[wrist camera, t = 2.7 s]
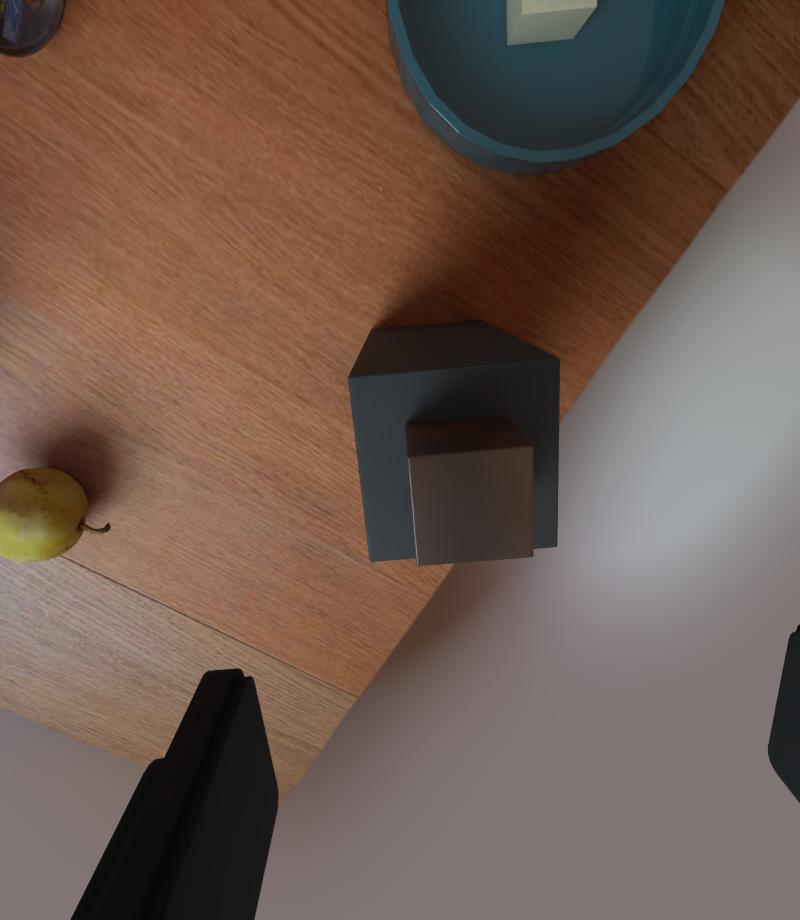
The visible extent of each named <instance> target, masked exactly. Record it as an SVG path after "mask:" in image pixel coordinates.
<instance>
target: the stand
mask: <svg viewBox="0 0 800 920" xmlns="http://www.w3.org/2000/svg"><path fill="white" fill-rule="evenodd" d="M348 382H349V391H350V399H351V408H352V416H353V424H354V433H355V441H356V449H357V458H358V466H359V475H360V483H361V491H362V500H363V508H364V516H365V525H366V533H367V542H368V550H369V558H370V561H371V562H374V561H386V560H399V559H411V558H416V556H415V544H414V533H413V521H412V509H411V498H410V486H409V475H408V463H407V449H406V432H405V424H407V423H419V422H430V421H442V420H454V419H466V418H477V417H489V416H501V415H508V416H509V417H510V419H511V420H512V421H513V422H514V424H515V425H516V426H517V427H518V428H519V430H520V431H521V432H522V433H523V435H524V436H525V437H526V438H527V440H528V441H529V442H530V443H531V444H532V446H533V549H536V548H549V547H557V526H558V525H557V523H558V461H559V395H560V358H558V357H556V356H554V355H552V354H550V353H548V352H546V351H544V350H542V349H539V348H537V347H535V346H533V345H531V344H529V343H527V342H525V341H523V340H521V339H519V338H517V337H515V336H513V335H511V334H509V333H507V332H505V331H503V330H501V329H499V328H497V327H495V326H492V325H490V324H488V323H486V322H484V321H482V320H473V321H462V322H451V323H440V324H428V325H417V326H406V327H395V328H383V329H372V330H371V331H370V333H369V335H368V337H367V339H366V341H365V343H364V346H363V348H362V350H361V352H360V354H359V356H358V358H357V360H356V362H355V364H354V366H353V368H352V370H351V372H350V375H349V377H348Z"/></svg>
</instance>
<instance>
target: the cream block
mask: <svg viewBox="0 0 800 920" xmlns="http://www.w3.org/2000/svg"><path fill="white" fill-rule="evenodd" d="M506 5H507V45H517V44H527V43H537V42H547V41H557V40H567V39H573V38H574V37H575V35H576V34H577V33H578V31H579V30H580V29H581V27H582V26H583V25H584V23H585V22H586V20H587V19H588V18H589V16H590V15H591V14H592V12H593V11H594V10H595V8H596V7H597V0H506Z"/></svg>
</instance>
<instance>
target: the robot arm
mask: <svg viewBox="0 0 800 920" xmlns="http://www.w3.org/2000/svg"><path fill="white" fill-rule="evenodd" d="M768 755H769V759H770V762H771V764H772V766H773V768H774V770H775V772H776V773H777V775H778V776H779V777H780V778H781V780H782V781H783V782H784V783H785V785H786V786H787V787H788V789H789V790H790V791H791V792H792V794H793V795H794V796H795V798H796V799H797V800H798V801H799V803H800V625H799V626H798V627H797V630H796V632H793V633H792V634H791V635H790V637H789V641H788V646H787V652H786V656H785V662H784V666H783V672H782V677H781V682H780V688H779V693H778V698H777V703H776V708H775V713H774V718H773V724H772V729H771V734H770V740H769V744H768ZM277 810H278V786H277V781H276V777H275V772H274V768H273V763H272V759H271V754H270V750H269V745H268V741H267V736H266V732H265V727H264V723H263V718H262V714H261V709H260V705H259V700H258V696H257V691H256V687H255V682H254V679H253V678H252V677H251V676H248V677H244V674H243V672H242V670H241V669H225V670H213V671H207V672H206V673H205V674H204V675H203V677H202V679H201V681H200V683H199V685H198V687H197V690H196V692H195V694H194V696H193V698H192V700H191V702H190V704H189V706H188V709H187V711H186V713H185V715H184V717H183V719H182V721H181V723H180V726H179V728H178V730H177V732H176V734H175V736H174V738H173V740H172V742H171V745H170V747H169V749H168V751H167V753H166V755H165V757H164V758H160V759H155V760H154V761H153V762H152V763H151V764H149V766H148V767H147V769H146V771H145V772H144V774H143V776H142V778H141V780H140V782H139V784H138V786H137V788H136V790H135V792H134V794H133V796H132V798H131V800H130V802H129V804H128V806H127V808H126V810H125V812H124V814H123V816H122V818H121V820H120V822H119V824H118V826H117V828H116V830H115V832H114V834H113V836H112V838H111V840H110V842H109V844H108V846H107V848H106V850H105V852H104V854H103V856H102V858H101V860H100V862H99V864H98V866H97V868H96V870H95V872H94V874H93V876H92V878H91V880H90V882H89V884H88V886H87V888H86V890H85V892H84V894H83V896H82V898H81V900H80V902H79V904H78V906H77V908H76V910H75V912H74V914H73V916H72V918H71V920H254V919H255V914H256V909H257V905H258V899H259V895H260V891H261V886H262V881H263V876H264V871H265V867H266V862H267V858H268V852H269V848H270V843H271V838H272V833H273V829H274V825H275V819H276V815H277Z"/></svg>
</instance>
